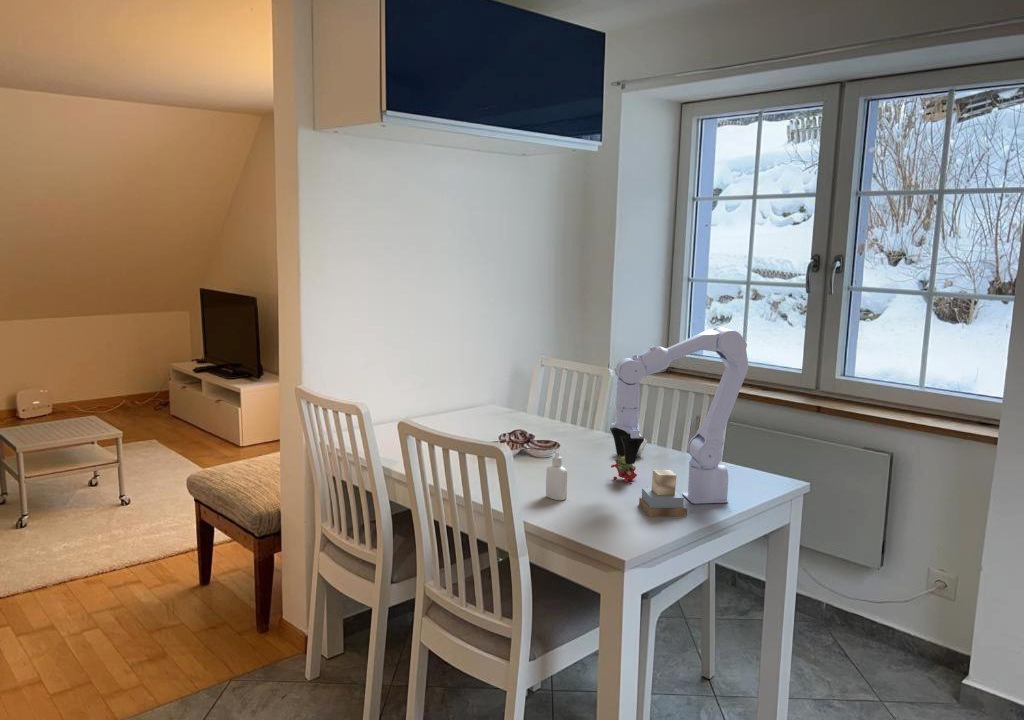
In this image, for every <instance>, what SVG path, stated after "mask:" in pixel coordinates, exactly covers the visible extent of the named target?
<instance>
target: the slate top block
mask: <svg viewBox="0 0 1024 720" xmlns="http://www.w3.org/2000/svg"><path fill="white" fill-rule="evenodd" d="M641 497H642V499H643V500H644V501H645V502H646V503H647V504H648V505H649V507H650V508H683V505H684V506H685V504H684V503H685V496H684V495H683V494H682V493H680V491H678V490H677V489H676V488H675V495H657V494H656V493H655V492H654V491H653V490H652V487H642V488H641Z"/></svg>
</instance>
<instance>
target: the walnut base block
mask: <svg viewBox="0 0 1024 720" xmlns="http://www.w3.org/2000/svg"><path fill="white" fill-rule="evenodd" d="M638 502H639V503H638V505H639V506H640V507H641V508H642V510H643V511H644V512H645V513H646V514H647V515H648V516H649V517H650V518H652V517H653V518H656V517H657V518H658V517H677V516H678V517H682V516H684V517H686V516H688V515H687V514H688V508H687V507H686V506H685V504H684V505H683V508H650V507H649V505H648V504H647V503H646V502H645V501H644V500H643V499H642V496H641V497H639V499H638Z"/></svg>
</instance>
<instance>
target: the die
mask: <svg viewBox="0 0 1024 720" xmlns="http://www.w3.org/2000/svg"><path fill="white" fill-rule="evenodd" d="M639 437H643V435H641V433H639ZM647 442H648V440H647V439H645V438H644V441H643V442H642V444H641V446H640V448H639V450H638V453H637V457H641V456H642V454H643V451H644V450H645V447H646V445H647ZM637 457H636V458H637Z"/></svg>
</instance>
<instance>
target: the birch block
mask: <svg viewBox="0 0 1024 720" xmlns="http://www.w3.org/2000/svg"><path fill="white" fill-rule="evenodd" d="M651 477H652V478H651V479H652V480H651V488H652V490H653V491H654V492H655V493H656V494H657V495H675V489H676V486H677V474H676V473H674V471H672V470H671V469H652V476H651Z"/></svg>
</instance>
